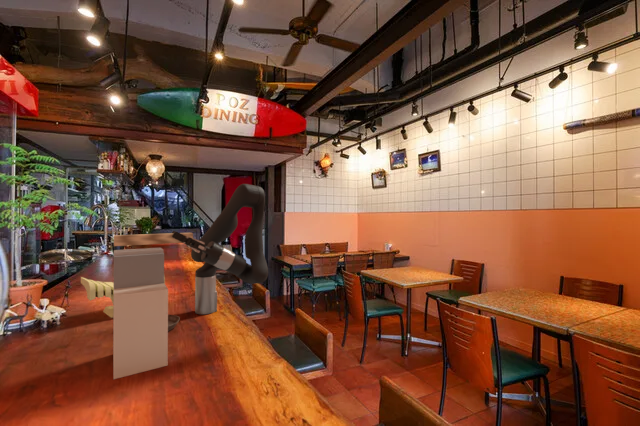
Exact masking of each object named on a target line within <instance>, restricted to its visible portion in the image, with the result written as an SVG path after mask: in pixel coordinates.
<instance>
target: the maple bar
mask: <svg viewBox="0 0 640 426" xmlns="http://www.w3.org/2000/svg"><path fill="white" fill-rule="evenodd" d="M179 233H180V234H182V235H184V236H187V237H189V238H192V239H193V238H194V233H193V232H179ZM173 234H174V233H172V232H171V233H170V232H169V233H147V234H145V233H143V234H141V233H140V234H116V235H115V234H114V235H113V247H124V246H142V245H144V246H145V245H161V244H181V243H182V244H183V242H184V241H183V242H181V241H179V240H177V239H175V238H173V237H172V235H173Z"/></svg>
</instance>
